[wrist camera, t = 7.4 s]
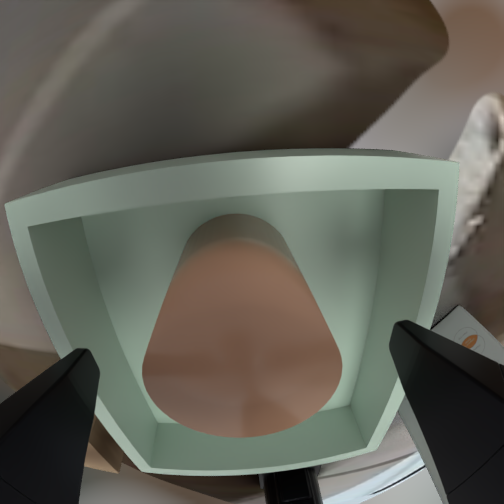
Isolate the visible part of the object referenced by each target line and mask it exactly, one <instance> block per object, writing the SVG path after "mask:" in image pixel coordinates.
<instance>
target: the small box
mask: <svg viewBox="0 0 504 504" xmlns="http://www.w3.org/2000/svg"><path fill="white" fill-rule="evenodd" d="M431 331H433V332H435V333H437V334H439V335H441V336H443V337H446V338H448V339H450V340H452V341H454V342H456V343H458V344H460V345H462V346H465V347H467V348H469V349H471V350H473V351H475V352H477V353H479V354H481V355H483V356H485V357H488V358H490V359H492V360H494V361H496V362H498V363H499V364H502V365H504V347H503V346H502V345H501V344H500V343H499V342H498V341H497V340H496V339H495V338H494V337H493V336H492V335H491V334H490V333H489V332H488V331H487V330H486V329H485V328H484V327H483V326H482V325H481V324H480V323H479V322H478V321H477V320H476V319H475V318H474V317H473V316H472V315H470V314H469V313H468V312H467V311H466V310H465V309H464V308H463V307H461V306H460V305H459V306H457V307H456V308H455V309H454V310H453V311H452V312H451V313H450V314H449V315H448V316H447V317H445V318H444V319H443V320H442V321H441V322H440V323H439V324H437V325H436V326H435V327H434V328H433V329H432V330H431ZM397 411H398V413H399V415H400V417H401V419H402V420H403V422H404V424H405V426H406V428H407V430H408V432H409V434H410V436H411V438H412V440H413V442H414V443H415V445H416V447H417V449H418V451H419V453H420V455H421V457H422V459H423V462H424V464H425V466H426V468H427V470H428V472H429V474H430V476H431V478H432V480H433V483H434V485H435V487H436V489H437V491H438V494H439V496H440V498H441V500H442V502H443V504H449V503H448V500H447V497H446V494H445V491H444V488H443V485H442V482H441V479H440V477H439V474H438V471H437V468H436V466H435V463H434V461H433V458H432V455H431V453H430V450H429V448H428V445H427V443H426V441H425V438H424V436H423V433H422V431H421V429H420V426H419V424H418V422H417V419H416V417H415V415H414V413H413V410H412V408H411V406H410V404H409V401H408V399H407V397H406V395H405V396H404V398H403V400H402V402H401V404H400V406H399V408H398V410H397Z"/></svg>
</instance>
